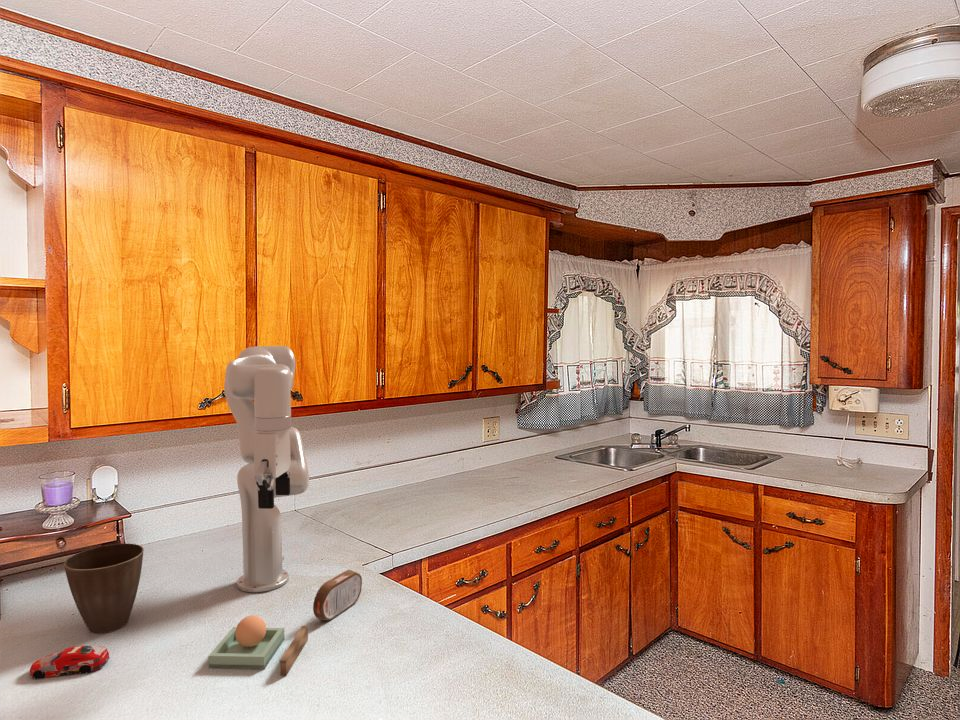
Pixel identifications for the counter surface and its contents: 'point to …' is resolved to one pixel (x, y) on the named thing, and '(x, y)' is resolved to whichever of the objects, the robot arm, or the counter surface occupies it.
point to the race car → (70, 662)
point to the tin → (337, 595)
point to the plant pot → (105, 584)
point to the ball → (250, 631)
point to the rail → (293, 651)
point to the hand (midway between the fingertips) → (274, 501)
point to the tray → (246, 651)
